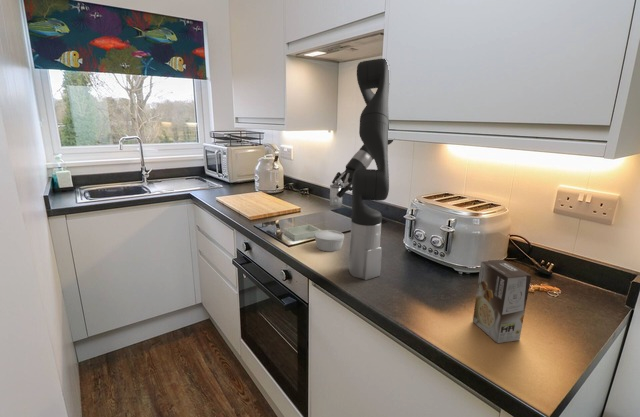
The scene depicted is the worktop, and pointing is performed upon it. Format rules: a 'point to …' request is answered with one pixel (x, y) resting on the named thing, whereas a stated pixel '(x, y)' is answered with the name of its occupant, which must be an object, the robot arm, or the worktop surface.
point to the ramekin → (329, 240)
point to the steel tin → (335, 195)
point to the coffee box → (501, 300)
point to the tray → (301, 232)
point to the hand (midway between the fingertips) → (334, 195)
